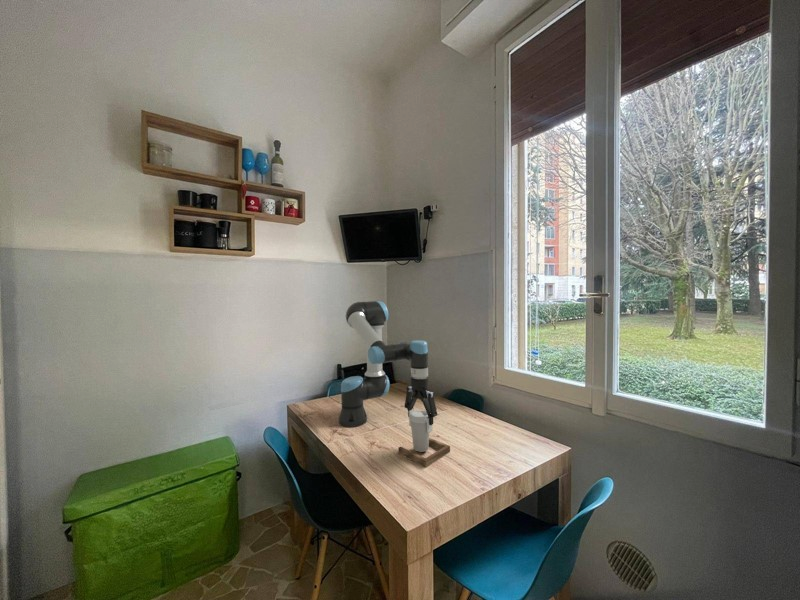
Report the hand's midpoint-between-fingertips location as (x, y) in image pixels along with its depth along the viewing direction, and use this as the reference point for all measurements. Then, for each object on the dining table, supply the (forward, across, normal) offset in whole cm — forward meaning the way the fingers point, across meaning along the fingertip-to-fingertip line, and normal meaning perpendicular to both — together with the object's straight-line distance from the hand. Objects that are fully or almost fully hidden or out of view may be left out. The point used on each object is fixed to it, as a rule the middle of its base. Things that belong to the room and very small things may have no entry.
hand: (420, 428), depth 132 cm
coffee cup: (+9, 0, 0) cm, 9 cm away
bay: (+10, +1, 0) cm, 10 cm away
